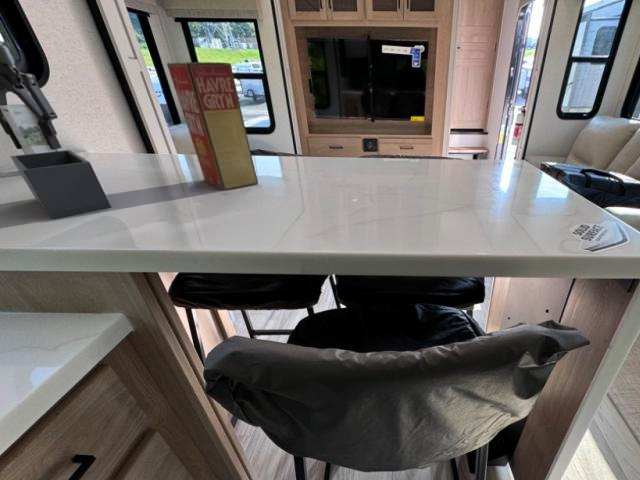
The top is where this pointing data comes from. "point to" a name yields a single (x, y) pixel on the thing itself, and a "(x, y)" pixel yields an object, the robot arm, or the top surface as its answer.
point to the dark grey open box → (62, 182)
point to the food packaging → (215, 122)
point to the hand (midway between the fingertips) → (39, 148)
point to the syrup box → (26, 129)
